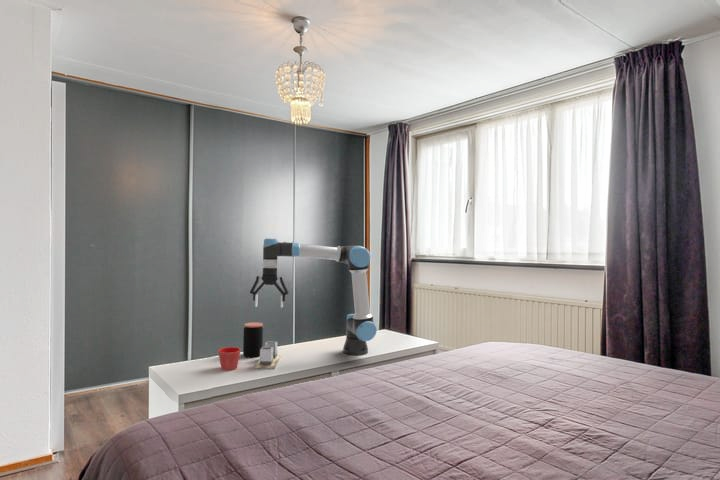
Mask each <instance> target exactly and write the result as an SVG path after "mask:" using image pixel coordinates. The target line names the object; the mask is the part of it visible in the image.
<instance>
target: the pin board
mask: <svg viewBox="0 0 720 480" xmlns="http://www.w3.org/2000/svg"><path fill="white" fill-rule="evenodd" d="M281 359H282V355H278V354H277V357H276V358H275V359H273V363H272V364H271V365H260V359H259V360H258V361H257V362H256V364H255V366H254V369H257V368H270V370H275V369H274V368H277V366H278V364H279V363H280V360H281ZM271 368H273V369H271Z"/></svg>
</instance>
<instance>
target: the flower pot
mask: <svg viewBox="0 0 720 480" xmlns="http://www.w3.org/2000/svg"><path fill="white" fill-rule="evenodd" d="M217 352H218V358H219V364H220V369H221V370H222V371H225V370H226V372H227V371H229V370H230V371H235V370H237V368H238V364H239V359H240V355H241V348H240V347H235V346H230V347H229V346H228V347H226V346H225V347H222V348H220V349H218V351H217Z"/></svg>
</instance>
